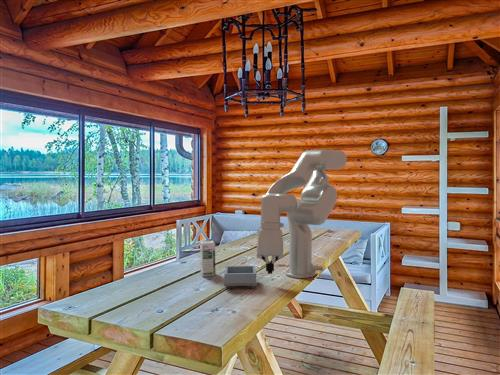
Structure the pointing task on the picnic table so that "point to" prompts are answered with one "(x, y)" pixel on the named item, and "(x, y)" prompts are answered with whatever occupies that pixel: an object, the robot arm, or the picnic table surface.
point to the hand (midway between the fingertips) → (269, 272)
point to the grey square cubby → (240, 276)
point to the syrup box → (207, 258)
